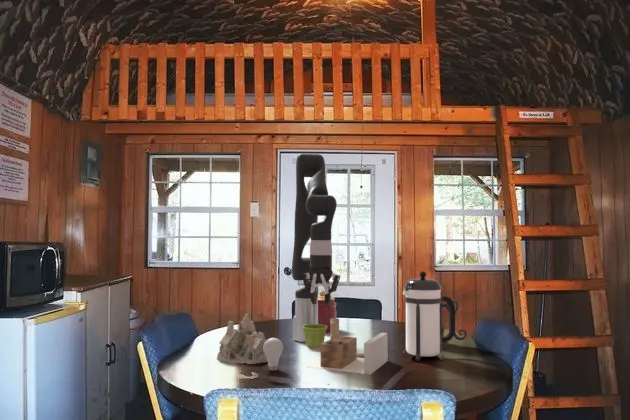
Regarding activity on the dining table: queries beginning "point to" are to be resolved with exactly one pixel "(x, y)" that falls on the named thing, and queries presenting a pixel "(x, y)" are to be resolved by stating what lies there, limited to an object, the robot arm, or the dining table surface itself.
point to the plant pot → (314, 334)
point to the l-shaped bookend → (365, 357)
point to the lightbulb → (273, 352)
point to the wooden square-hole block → (339, 352)
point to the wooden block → (360, 355)
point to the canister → (326, 310)
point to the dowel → (334, 331)
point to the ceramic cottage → (242, 344)
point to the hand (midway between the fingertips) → (320, 304)
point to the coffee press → (425, 317)
